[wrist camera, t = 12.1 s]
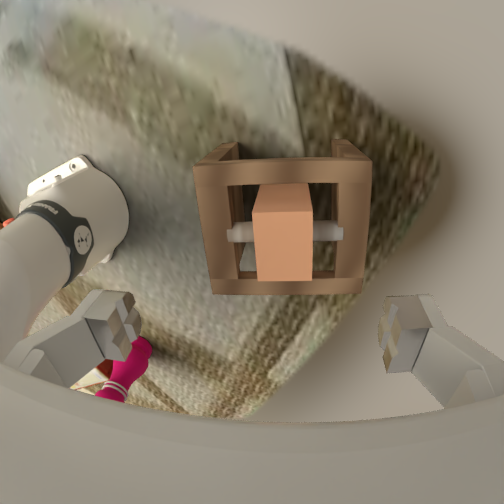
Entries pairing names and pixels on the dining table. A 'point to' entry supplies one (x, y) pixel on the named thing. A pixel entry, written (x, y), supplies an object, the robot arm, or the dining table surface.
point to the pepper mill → (127, 371)
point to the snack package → (96, 375)
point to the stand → (335, 230)
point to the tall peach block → (283, 232)
